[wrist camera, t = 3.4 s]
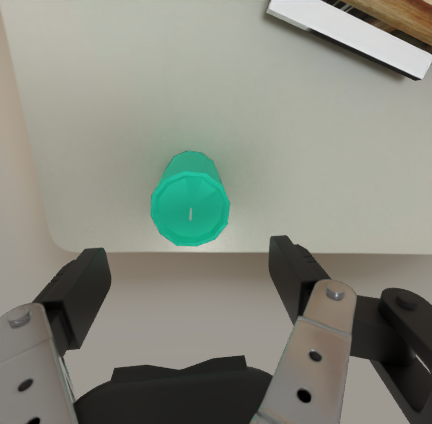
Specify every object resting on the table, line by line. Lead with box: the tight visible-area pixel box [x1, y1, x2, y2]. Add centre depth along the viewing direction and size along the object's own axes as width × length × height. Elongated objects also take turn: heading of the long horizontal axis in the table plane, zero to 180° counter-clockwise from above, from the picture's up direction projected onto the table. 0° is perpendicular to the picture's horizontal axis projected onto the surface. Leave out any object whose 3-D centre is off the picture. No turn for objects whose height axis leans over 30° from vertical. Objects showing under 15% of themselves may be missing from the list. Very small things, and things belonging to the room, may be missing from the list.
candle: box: [151, 151, 230, 246], centre depth 22 cm, size 6×6×12 cm
